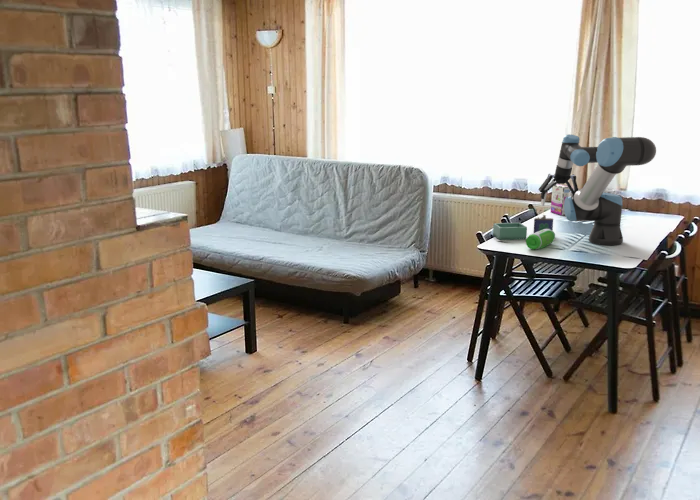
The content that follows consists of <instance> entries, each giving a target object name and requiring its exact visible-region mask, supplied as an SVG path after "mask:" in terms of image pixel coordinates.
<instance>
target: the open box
mask: <svg viewBox="0 0 700 500" xmlns="http://www.w3.org/2000/svg"><path fill="white" fill-rule="evenodd" d="M492 228H493V229H492V236H494V237H495V238H496V239H497V240H499V241H509V240H510V241H512V240H513V241H514V240H515V241H516V240H526V239H527V237H528V236H527V234H528V233H527V231H528V227H527V226H526V225H524V224H522V223H521V222H499V223H497V222H496V223H493V226H492Z"/></svg>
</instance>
